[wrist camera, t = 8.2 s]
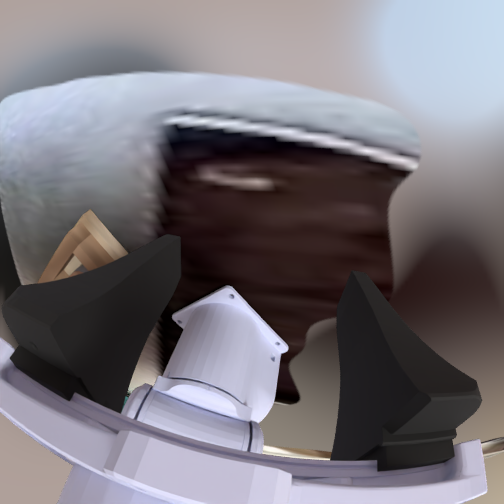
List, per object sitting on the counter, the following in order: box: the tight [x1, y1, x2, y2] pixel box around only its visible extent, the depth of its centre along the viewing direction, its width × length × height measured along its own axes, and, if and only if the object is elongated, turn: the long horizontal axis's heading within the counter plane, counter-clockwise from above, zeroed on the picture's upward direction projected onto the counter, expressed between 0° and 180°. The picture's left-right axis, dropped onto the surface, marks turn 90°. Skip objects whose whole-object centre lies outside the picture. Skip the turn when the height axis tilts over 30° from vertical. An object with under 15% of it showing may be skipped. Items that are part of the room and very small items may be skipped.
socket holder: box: [37, 209, 129, 284], centre depth 26 cm, size 10×21×7 cm, turn 128°
